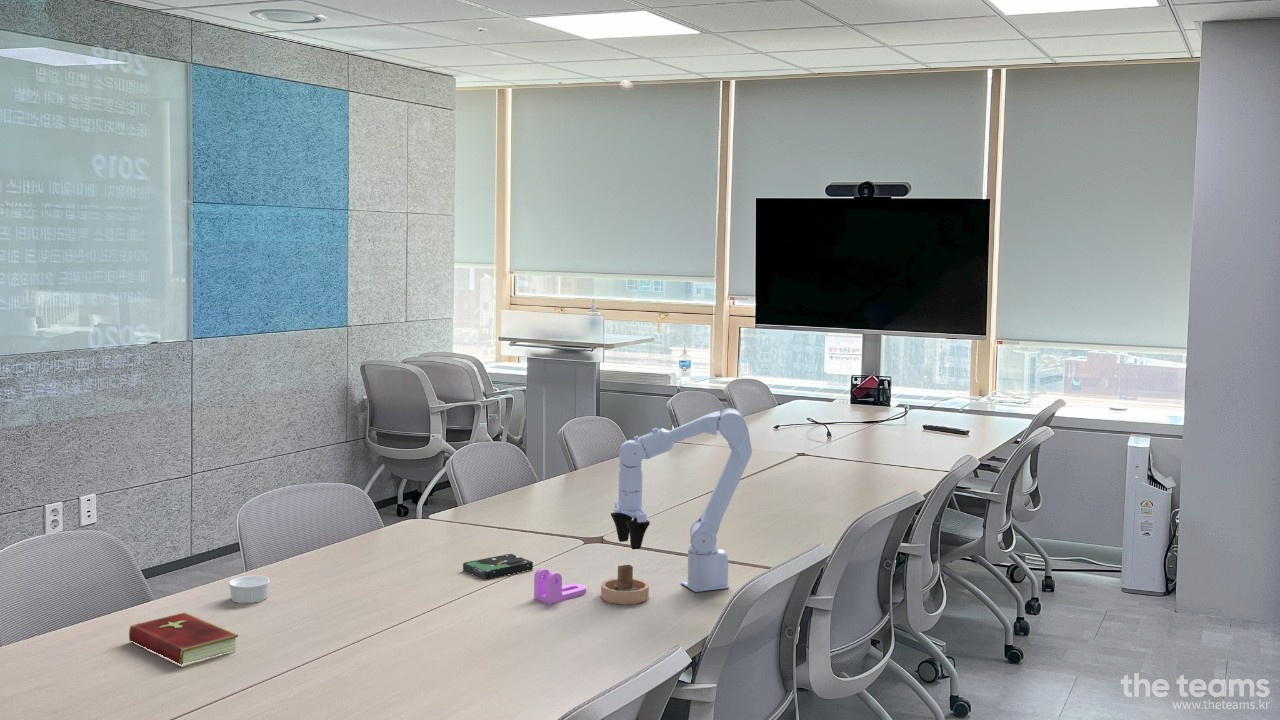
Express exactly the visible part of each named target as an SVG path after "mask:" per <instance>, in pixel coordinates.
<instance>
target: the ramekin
mask: <svg viewBox="0 0 1280 720" xmlns="http://www.w3.org/2000/svg"><path fill="white" fill-rule="evenodd" d="M270 581H271V579H270V577H267V576H264V575H244V576H243V575H242V576H238V577H236V578H233V579H231V580H230V581H229V583H228V585H229V588H230V597H231V601H232V602H233V601H234V603H235V602H237V603H236V604H240V603H250V604H254V603H253V602H257V603H259V602H258V601H261V602H263V601H265V600H267V599H268V597H269V589H270V588H269V586H270ZM264 599H265V600H264ZM262 600H263V601H262Z"/></svg>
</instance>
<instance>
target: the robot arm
mask: <svg viewBox="0 0 1280 720" xmlns="http://www.w3.org/2000/svg"><path fill="white" fill-rule="evenodd" d="M718 432H719V434H720V435H721V436H722V437H723V438H724V439H725V441H726V442H727V445H728V447H729V449H730V451H731V452H730V453H729V456H728V458H727V460H726V462H725V465H724V467H723V469H722V471H721V473H720V475H719V478H718V480H717V482H716V484H715V486H714V488H713V491H712V493H711V495H710V497H709V499H708V501H707V503H706V506H705V508H704V510H703V511H702V513H701V514H700V515H699V518H698V520H696V521H695V522H694V523H693V524H692V525H691V527H690V530H689V534H690V540H689V541H690V546H689V547H688V548H687V580H683V581H680V584H681V585H682V586H684V587H686V588H688V589H690V590H691V591H693V592H695V593H696V592H697V593H700V592H708V591H714V590H715V591H716V590H723V589H729V588H730V585H728V584H729V582H728V581H729V577H728V576H729V559H728V554H727V552H726V551H725V550H724V549H722V548H718V547H717V541H718V539H717V535H718V532H719V530H720V527H721V524H722V520H723V517H724V515H725V513H726V511H727V509H728V507H729V505H730V502H731V500H732V498H733V496H734V494H735V491H736V489H737V487H738V485H739V483H740V480H741V479H742V476H743V474H744V471H745V470H746V467H747V466H748V463H749V461H750V459H751V456H752V454H753V450H752V449H753V448H752V445H751V438H750V433H749V427H748V425H747V423H746V420H745V419H744V417H743V415H742V413H741V412H740V411H739V410H738V409H736V408H732V407H728V408H725V409H722V411H720V410H718V411H717V410H716V411H713V412H710V413H707V414H705V415H703V416H701V417H698V418H696V419H693V420H692V421H689V422H687V423H685V424H682V425H680V426H678V427H675V428H673V429H670V430H668V429H665V428H664V427H663V428H659V429H658V427H654V428H652V432H651V431H650V432H649V433H646V434H643V435H641V436H639V435H635V436H634V437H633V439H634V440H633V439H629V440H626V441H624V442H623V443H622V444H621V445H620V448H619V451H618V459H619V461H620V462H619V465H618V467H619V471H618V501H614V508H613V512H611V513H610V516H611V519H612V521H613V523H614V527H615V529H616V533H617V538H618V542H619V543H622V542H628V540H629V542H630V549H632V550H641V548H642V544H643V541H644V538H645V537H644V536H645V534H646V532H647V529H648V528H649V525H650V524H651V521H650V520H648V519H647V514H646V513H645V510H644V508H643V471H642V462H643V460H649V459H651V458H655V457H657V456H659V455H661V454H664V453H668V452H670V451H672V449H673V447H674V445H675V443H678V442H679V443H680V442H682V441H684V440H687V439H690V438H692V437H696V436H699V435H701V434H704V433H706V434H710V435H715V436H717V435H718Z"/></svg>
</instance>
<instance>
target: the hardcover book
mask: <svg viewBox="0 0 1280 720" xmlns="http://www.w3.org/2000/svg"><path fill="white" fill-rule="evenodd" d="M128 631H129V632H128V636H129V637H128V640H129V642H130V641H133V642H135V643H137V644H139V645H141V646H143V647H146V648H147V649H150V650H152V651H154V652H156V653H158V654H161V655H163V656H164V657H167V658H169V659H171V660H173V661H175V662H177V663H179V664H181V665H182V664H183V663H187V662H192V661H196V660H200V659H203V658H207V657H212V656H216V655H219V654H224V653H227V652H231V651H236V647H237V646H236V638H238V637H239V634H237V633H235V632H233V631H229V630H228V629H226V628H223V627H220V626H218V625H216V624H213V623H211V622H208V621H206V620H204V619H202V618H199V617H197V616H195V615H192V614H190V613H188V612H181V613H177V614H172V615H169V616H168V615H167V616H163V617H161V618H160V617H159V618H156V619H152V620H148V621H144V622H140V623H135V624H132V625H130V626H129V630H128Z"/></svg>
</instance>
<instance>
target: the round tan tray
mask: <svg viewBox="0 0 1280 720" xmlns="http://www.w3.org/2000/svg"><path fill="white" fill-rule="evenodd" d="M649 595H650V583H648V582H646V581H645V580H643V579H638V578H633V584H632V588H629V589H620V591H618V577H617V578H611V579H608V580H604V581H603V582H602V583H601V586H600V596H601V599H602V600H603V601H605V602H607V603H610V604H613V603H614V605H622V604H625V605H624V606H627V605H626V604H630V605H637V603H638V604H641V602H642V603H644V601H645V602H646V600H647V599H648V600H649ZM648 600H647V601H648Z"/></svg>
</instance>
